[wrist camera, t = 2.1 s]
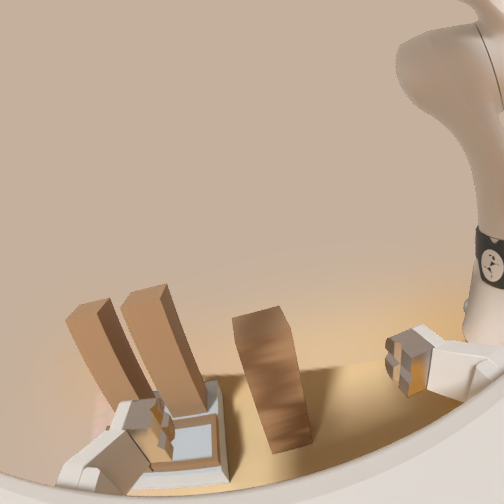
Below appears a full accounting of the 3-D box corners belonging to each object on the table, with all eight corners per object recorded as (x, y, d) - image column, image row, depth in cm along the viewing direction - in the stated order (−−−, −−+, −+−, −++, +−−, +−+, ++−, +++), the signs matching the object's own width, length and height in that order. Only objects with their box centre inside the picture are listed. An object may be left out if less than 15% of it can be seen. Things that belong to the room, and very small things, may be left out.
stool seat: (222, 394, 34) (180, 275, 30) (229, 482, 21) (155, 344, 17) (131, 408, 34) (77, 301, 29) (110, 487, 20) (15, 365, 16)
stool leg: (302, 417, 28) (279, 305, 24) (312, 443, 24) (290, 327, 20) (266, 427, 27) (231, 318, 24) (272, 454, 23) (235, 342, 20)
